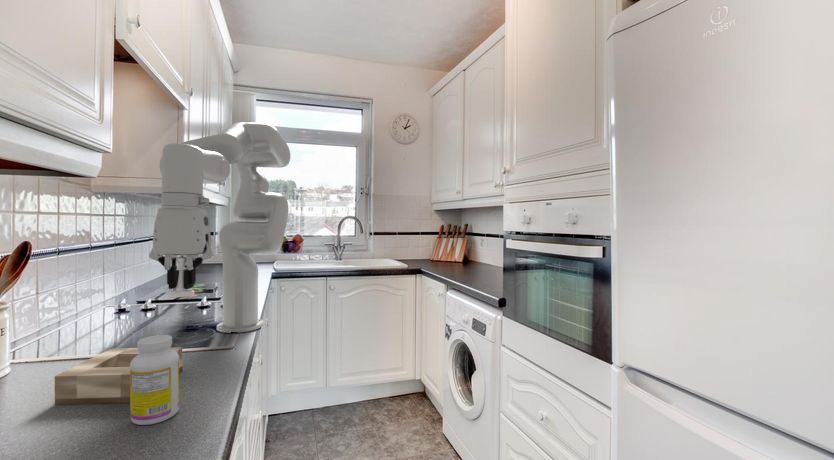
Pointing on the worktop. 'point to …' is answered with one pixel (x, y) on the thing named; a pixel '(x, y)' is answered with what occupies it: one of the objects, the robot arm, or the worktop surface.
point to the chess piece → (181, 281)
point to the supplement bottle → (154, 381)
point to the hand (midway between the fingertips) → (181, 287)
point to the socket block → (100, 378)
